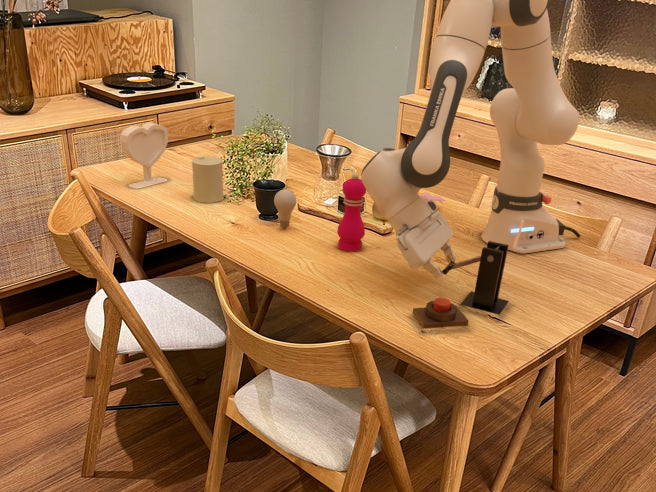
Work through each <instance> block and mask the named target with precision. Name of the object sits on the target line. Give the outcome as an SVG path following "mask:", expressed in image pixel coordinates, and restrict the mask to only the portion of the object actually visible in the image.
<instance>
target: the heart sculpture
mask: <svg viewBox="0 0 656 492" xmlns="http://www.w3.org/2000/svg"><path fill="white" fill-rule="evenodd" d="M119 139H120V146H121V150H122V151H123V153H124V154H125V156H126V157H127V158H129V159H130V160H131V161H133V162H136V163H137V164H140V165H141V166H142V168H143V169H142V170H143V171H142V172H143V180H140V181H137V182H133V183H130V184H128V187H129V188H131V189H142V188H146V187H149V186H153V185H158V184H161V183H165V182H168V179H167V178H165V177H159V176H158V177H153V178H152V167H153V166H154V165H155V164H156V163H157V162H158V161H159V160H160V158H161V157H162V156H163V154H164V153H165V151H166V148H167V145H168V142H169V131H168V128H167V127H166V126H164V125H162V124H159V123H154V122H145V123H143V125H141V126H140V125H130V126H129V127H126V128H125V129H124V130H122V131H121V133H120V137H119Z"/></svg>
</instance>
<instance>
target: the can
mask: <svg viewBox="0 0 656 492" xmlns="http://www.w3.org/2000/svg"><path fill="white" fill-rule="evenodd" d="M223 164H224V163H223V159H222V158H221V157H217V156H213V155H210V156H209V155H205V156H204V155H203V156H197V157H193V158H192V159H191V167H192V183H193V184H192V187H193V188H192V189H193V197H192V198H193V200H194V201H196V202H199V203H204V204H212V203H213V204H214V203H218V202H221V201H223V200H224V198H225V197H224V179H223V178H224V176H223V175H224V174H223V172H224V171H223V170H224V169H223Z"/></svg>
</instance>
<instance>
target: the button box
mask: <svg viewBox="0 0 656 492" xmlns="http://www.w3.org/2000/svg"><path fill="white" fill-rule="evenodd" d="M433 304H434V300H431V301H429V302H427V303H426V305H425V307H413V308H412V314H413V316H414V317H415V318H416V321H417V322H418V323H419V324H420V326H421V327H422V329H433V328H448V327H465V326H468V325H469V319H468V318H467V317H466V315H464V313H463V312H462V311H461V310H460V308H459V307H458V306H457V305H455V304H454V303H452V302H451V306H450V311H448V312H439V311H436V310H434V309H433ZM421 333H422V334H424V333H425V334H426V333H428V331H425V330H421Z"/></svg>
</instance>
